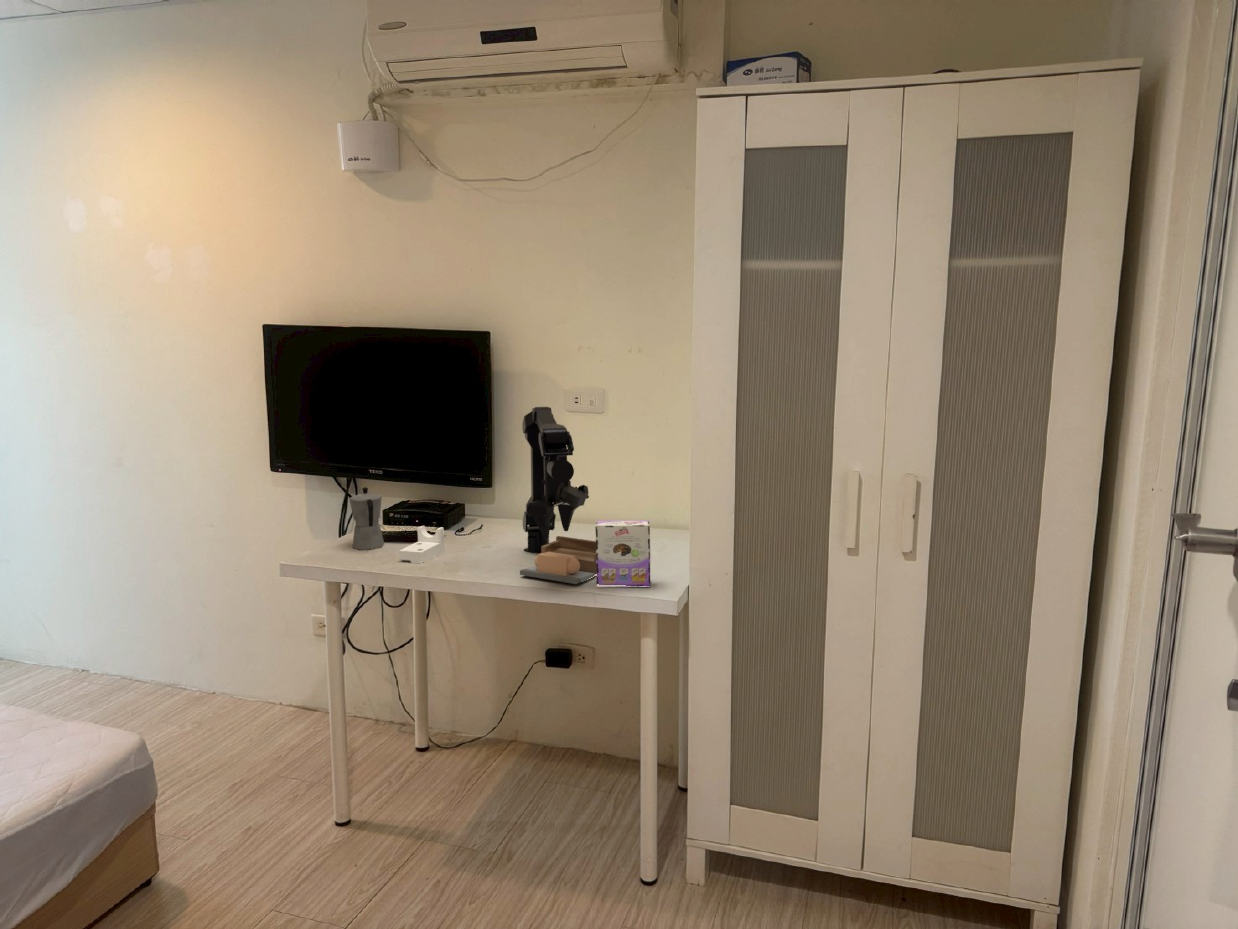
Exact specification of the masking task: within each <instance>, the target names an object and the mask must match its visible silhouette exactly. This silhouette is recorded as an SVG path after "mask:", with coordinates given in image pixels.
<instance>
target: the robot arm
mask: <svg viewBox="0 0 1238 929" xmlns="http://www.w3.org/2000/svg"><path fill="white" fill-rule="evenodd" d="M552 412H553V411H552V407H549V406H534V407H533V408H532V409H531V411H530V412H528V413H526V414H525V415H524V416H523V420H522V424H521V425H522V426H521V427H522V433H523V434H524V438H525V440H526V442H527V444H528V445H529V447H530V487H531V488H530V492H531V494H530V497H529V499H528V501H527V502H526V504H525V511H524V512H523V517H522V530H523V531H524V533H527V547H526V548H524V549H523V552H529V553H537V554H540V553H541V546H544V545H546V544H548V543H550V531H554V530H555V528H556V526H555V525H556V524H555V523H556V516H557V514H555V507H557V509H558V514H559V517H560V521H561V525H562V529H563V531H564V532H569V529H570V527H571V522H572V519H573V515H574V513H575V511H576V510H577V509H578V508H579V507H582V506H584V505H585V502H586V500H587V499H589V498H590V496H589V486H588V485H585V484H581V485H579V486H573V485H572V484H571V480H572V478H573V477H574V474H575V468H574V467H573V464H572V463H571V462H570V461H569V460H568V456H573V455H574V450H575V447H574V442H573V438H572V435H571V433H570V431H568V429H567V427H566V426H565V425H563V424H558V423H557V420H556V419H555V417H554V414H553V413H552Z"/></svg>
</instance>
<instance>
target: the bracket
mask: <svg viewBox="0 0 1238 929" xmlns="http://www.w3.org/2000/svg"><path fill="white" fill-rule="evenodd" d="M416 529H417V541H416V542H413V543H412V544H410V545H407V546H406V547H404V548H401V549H400V550H399V551H398V554H399V560H400V561H410V563H411V562H414V563H413V564H418V563H423V562H425V561H426V562H428V561H431V560H432V559H434V558H435V557H438V556H439V555H441V554H444V553H445V552H446V551H445V532H444V530H445V528H444V527H442V526H441V527H438V528H437V529H436V531H435V533H434V535H433V534H430V533H428V531H427V530H426V527H425V525H421V526H419V527H417V528H416ZM437 555H438V556H437ZM427 560H428V561H427ZM426 562H425V563H426ZM423 564H424V563H423Z"/></svg>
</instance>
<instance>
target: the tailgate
mask: <svg viewBox="0 0 1238 929" xmlns="http://www.w3.org/2000/svg"><path fill="white" fill-rule="evenodd" d="M519 575H520V576H525V577H532V578H537V579H541V580H542V579H543V580H550V581H556V582H560V583H566V584H567V583H568V584H573V585H578V583H579V584H581V583H580V582H582V581H585V582H587V581H588V580H587V579H589V578H591V577H593V576H594V575H595V573H589V572H583V571H578V572H577V573H575V574H571V575H567V576H563V575H557V574H551V573H545V572H539V571H537V567H536V565H532V566H530V567H525V568H523V569H522V568H521V569H520V570H519ZM586 580H587V581H586ZM582 583H583V582H582Z"/></svg>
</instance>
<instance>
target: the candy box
mask: <svg viewBox="0 0 1238 929" xmlns="http://www.w3.org/2000/svg"><path fill="white" fill-rule="evenodd" d="M595 523H596V524H595V526H594V528H595V529H594V530H595V541H596V574H597V576H596V584H599V585H626V586H650V587H651V527H650V526H651V525H650V520H649V519H648V520H647V519H646V520H644V519H643V520H641V519H640V520H596V522H595Z"/></svg>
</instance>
